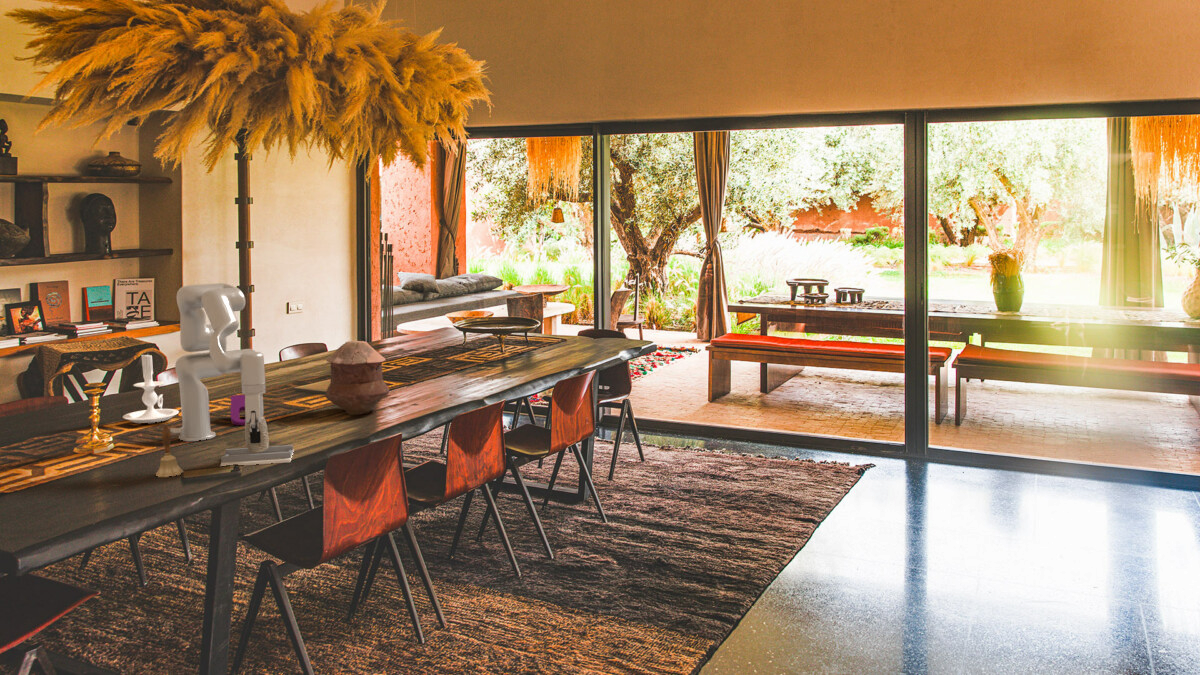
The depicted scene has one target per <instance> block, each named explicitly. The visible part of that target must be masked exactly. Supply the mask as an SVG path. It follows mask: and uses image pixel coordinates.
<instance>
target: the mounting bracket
mask: <svg viewBox="0 0 1200 675" xmlns="http://www.w3.org/2000/svg"><path fill="white" fill-rule="evenodd" d="M241 412H245V395H244V394H239V395H231V396H230V421H231V424H233V425H234V426H237V425H243V426H245V418H244V419H243V418H242V419H241V418H240V413H241Z"/></svg>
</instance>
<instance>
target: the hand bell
mask: <svg viewBox="0 0 1200 675" xmlns="http://www.w3.org/2000/svg"><path fill="white" fill-rule="evenodd" d="M170 430H171V429H170V428H169V426H168V425H167V424H166V425H165V424H164V425H163V427H162V430H161V438H162V442H163V445H164V455H163V457H161V458H160V464H159V468H158V470H157V471H156V473H155V474H156V476H158V477H157V478H170V477H169V476H172V477H176V475H177V476H180V475H182V474H183V473H184V469H182V468H181V467H180V466H179V465H178V461H177V459H176V456H174V455H172V454H171V446H170V445H171V437H172V436H171V431H170ZM182 472H183V473H182ZM181 473H182V474H181ZM156 476H155V477H156Z"/></svg>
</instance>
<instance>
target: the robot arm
mask: <svg viewBox="0 0 1200 675" xmlns="http://www.w3.org/2000/svg"><path fill="white" fill-rule="evenodd" d="M176 303H177V308H178V310H179V314H180V326H179V327H180V331H179V332H180V334H179V339H180V340H179V341H180V346H181V348H182V350H183V351H185V352H189V353H191V354H185V355H182V356H180V357H178V358H177V360H176V362H175V365H174V368H175V373H176V377H177V381H178V386H179V395H180V407H181V410H180V411H181V421H182V423H181V424H182V426H181V427H178V428H175V427H174V428H173V427H171V428H170V429H169V430H170V434H173V435H179V436H178V440H179V439H180V441H181V440H183V441H182V442H199V440H201V441H206V439H207V440H210V439H213V438H215V437H216V432H215V431H212V430H211V416H210V415H211V414H210V403H209V402H210V400H209V399H210V398H209V390H208V388H207V386H206V385H205V384H204V383H203V382H202V381H201V380H203V379H208V378H216V377H219V376H222V375H224V374H225V375H227V374H234V373H240V378H241V379H240V380H241V382H240V383H241V395H245V411H244V412H245V413H244V416H245V417H244V419H245V422H246V423H247V424H248V422H250V441H251V443H260V442H261V436H260V431H259V423H260V422H261V420H262V417H264V398H263V395H264V394H265V393H266V389H267V387H266V372H265V357H264V356H265V355H264V354H263V353H262V351H261V352H260V351H256V350H254V349H253V348H244V349H235V350H234V349H233V350H227V344H228V342H227V337H229V336H231V335H232V334H233V333H235V332H237V330H238V328H239V326H240V324H239V323H240V322H239V321H238V318H237V316H236V314H235V312H239V311H243V309H244V308H245V306H246V296H245V294H244V293H243V291H242V290H241V289H240V288H238V287H237V286H233V285H230V284H228V283H224V282H223V283H222V282H221V283H202V284H200V283H199V284H189V285H184V286H181V287H180V288H179V289H178V290H177V293H176ZM207 319H208V321H209V323H210V324H206V323H207ZM203 351H208V352H203ZM194 352H199V353H194ZM257 419H258V420H257ZM255 421H258V422H255ZM256 424H257V425H256Z"/></svg>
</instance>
